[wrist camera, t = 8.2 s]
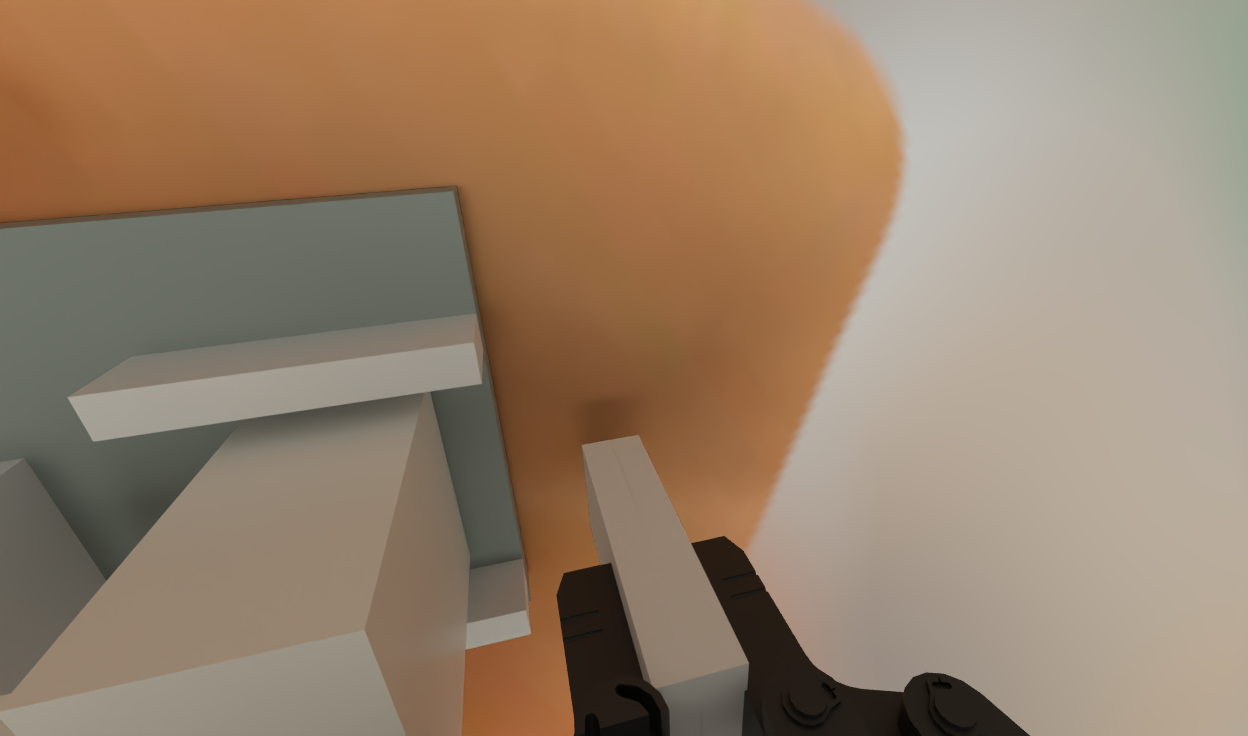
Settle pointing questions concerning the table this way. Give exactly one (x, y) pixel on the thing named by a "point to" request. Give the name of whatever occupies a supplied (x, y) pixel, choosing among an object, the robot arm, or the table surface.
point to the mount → (226, 378)
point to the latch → (279, 594)
